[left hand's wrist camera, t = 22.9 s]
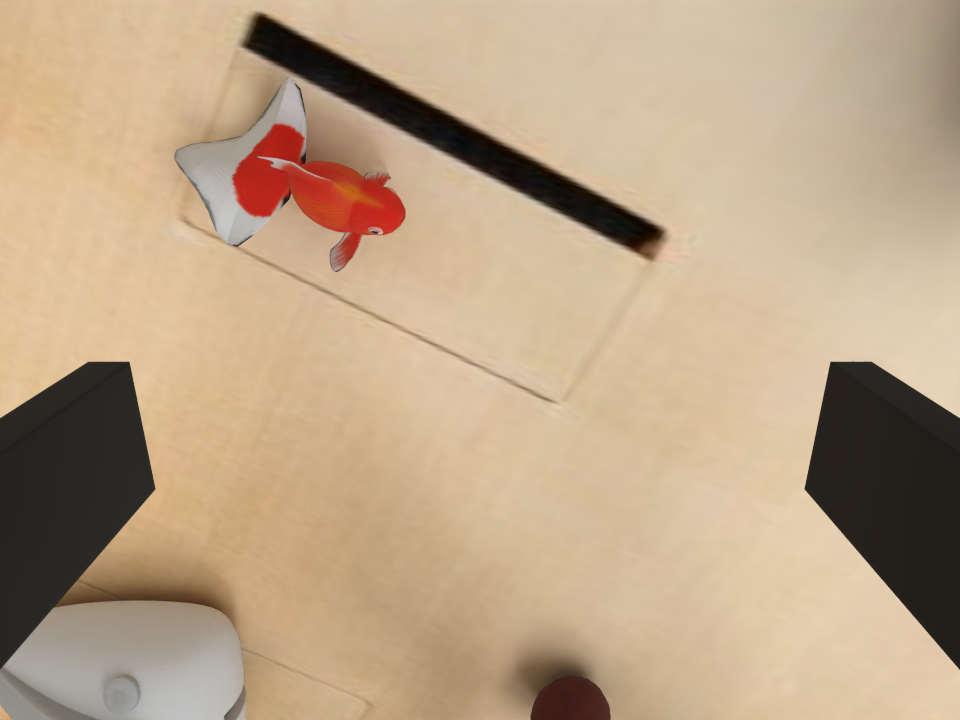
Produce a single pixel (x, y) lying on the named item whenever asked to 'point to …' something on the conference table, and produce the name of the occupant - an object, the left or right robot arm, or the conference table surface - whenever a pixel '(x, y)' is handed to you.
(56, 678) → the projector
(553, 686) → the dark maroon ball
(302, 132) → the fish
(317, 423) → the conference table surface
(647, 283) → the conference table surface
